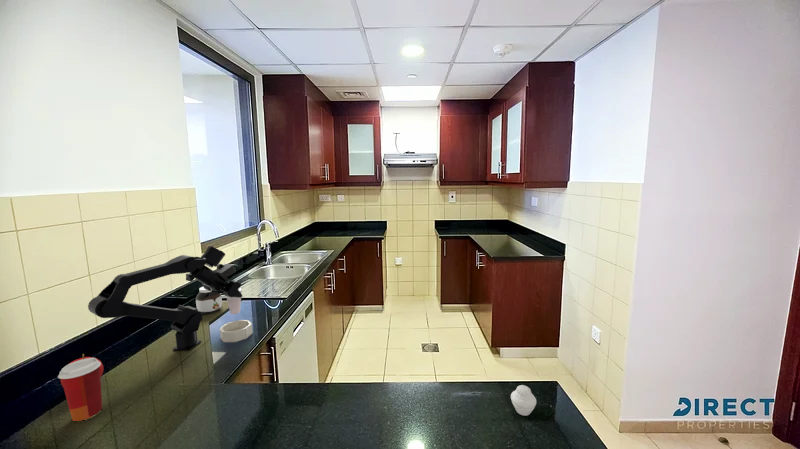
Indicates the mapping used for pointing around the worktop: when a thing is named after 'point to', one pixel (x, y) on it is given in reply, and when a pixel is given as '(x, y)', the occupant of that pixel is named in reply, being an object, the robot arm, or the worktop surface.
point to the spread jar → (208, 301)
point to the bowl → (236, 331)
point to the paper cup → (82, 388)
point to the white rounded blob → (523, 400)
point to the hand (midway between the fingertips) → (237, 295)
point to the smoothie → (234, 303)
